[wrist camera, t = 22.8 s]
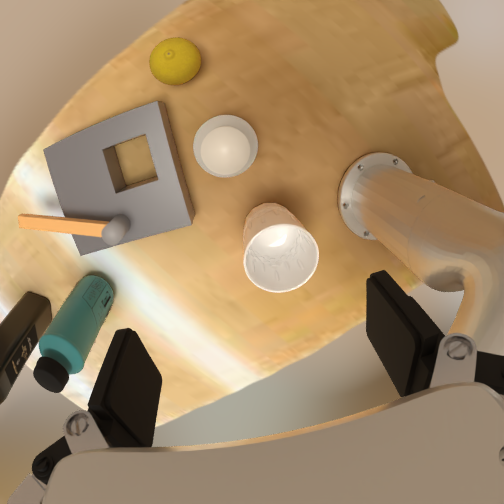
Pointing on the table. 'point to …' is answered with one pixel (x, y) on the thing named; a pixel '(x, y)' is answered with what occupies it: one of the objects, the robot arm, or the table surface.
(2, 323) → the wine bottle
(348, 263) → the table surface
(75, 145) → the dock
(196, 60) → the lemon
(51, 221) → the hammer
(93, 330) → the beverage bottle
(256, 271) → the white cup
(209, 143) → the plug
